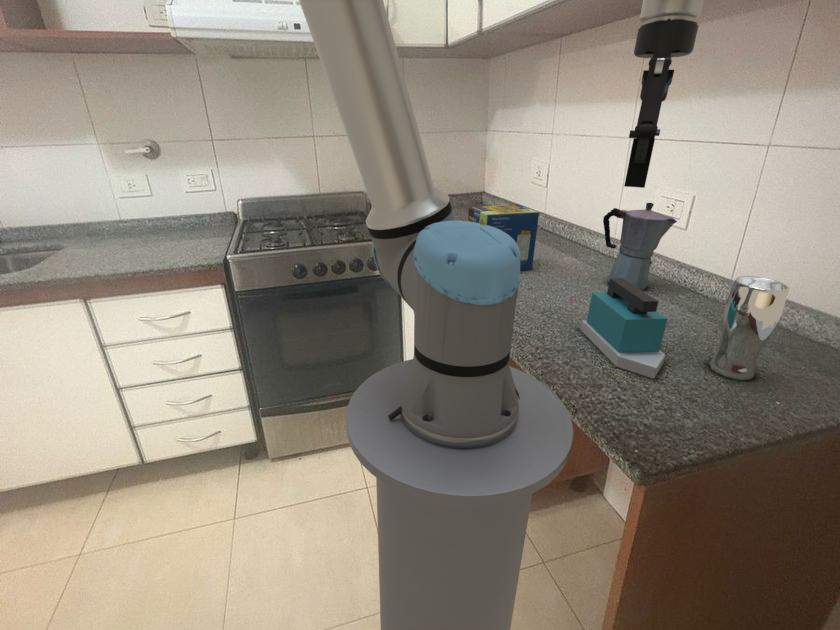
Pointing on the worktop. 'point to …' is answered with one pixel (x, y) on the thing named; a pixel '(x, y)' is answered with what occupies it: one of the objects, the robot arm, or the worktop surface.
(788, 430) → the worktop surface
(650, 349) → the teal slab with bar
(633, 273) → the moka pot
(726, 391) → the worktop surface
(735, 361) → the beer glass
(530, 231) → the protein box
